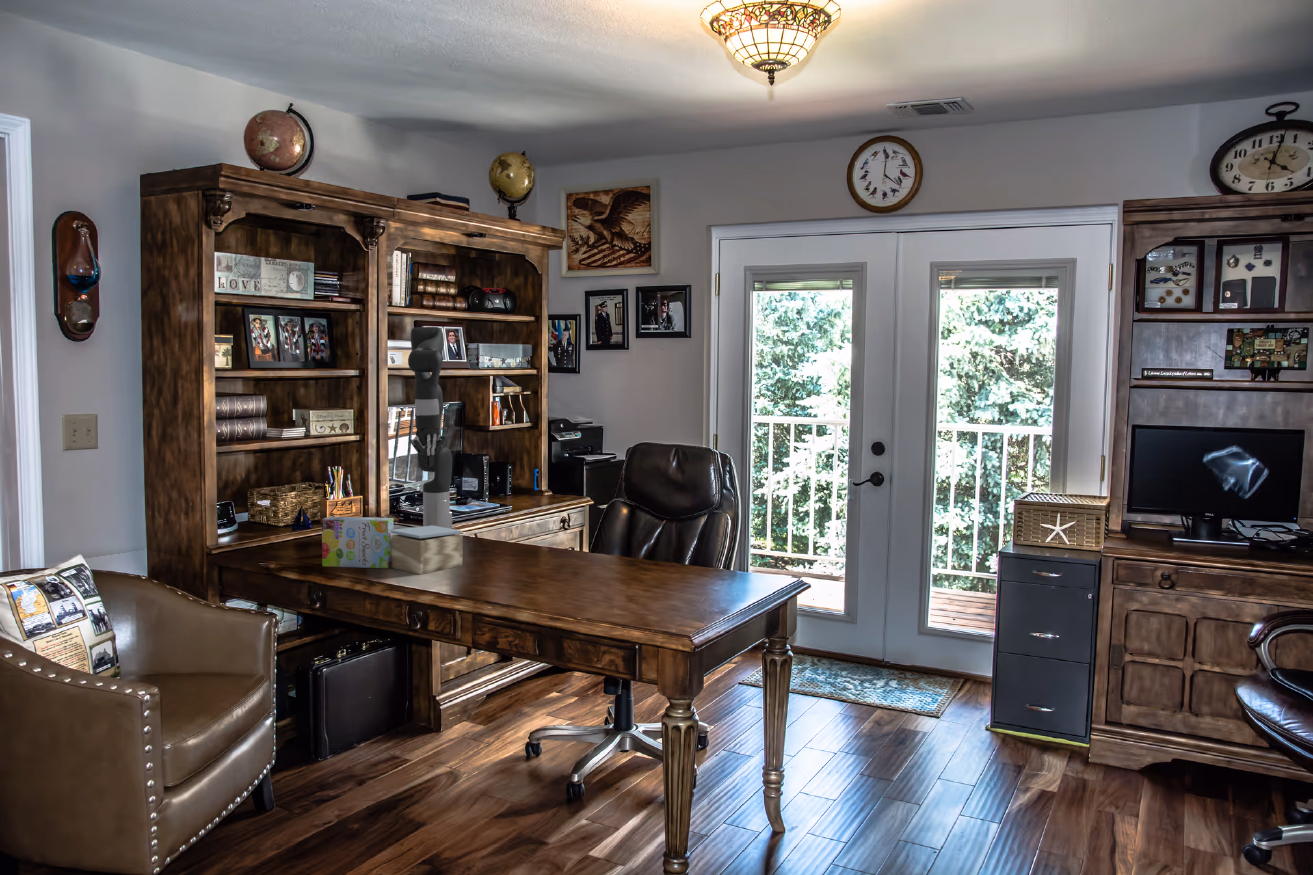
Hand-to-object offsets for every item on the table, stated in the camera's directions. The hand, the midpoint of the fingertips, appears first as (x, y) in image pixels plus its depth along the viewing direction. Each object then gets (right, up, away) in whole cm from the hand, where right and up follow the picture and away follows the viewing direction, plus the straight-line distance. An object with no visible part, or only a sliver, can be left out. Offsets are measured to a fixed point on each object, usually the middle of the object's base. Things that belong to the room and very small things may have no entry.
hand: (428, 466), depth 300 cm
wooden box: (+2, -31, -11) cm, 33 cm away
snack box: (-19, -31, -11) cm, 38 cm away
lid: (+2, -20, -12) cm, 24 cm away
